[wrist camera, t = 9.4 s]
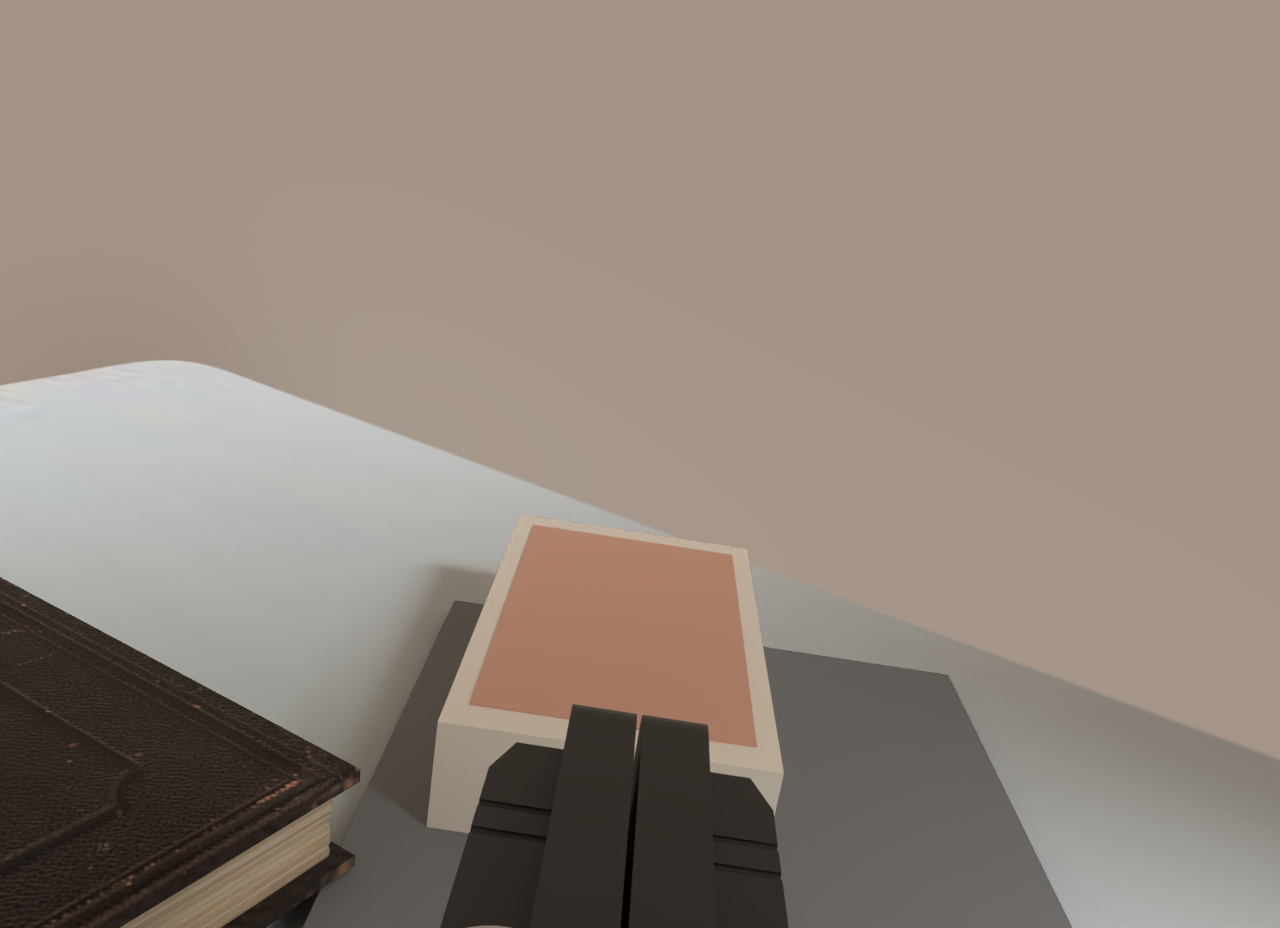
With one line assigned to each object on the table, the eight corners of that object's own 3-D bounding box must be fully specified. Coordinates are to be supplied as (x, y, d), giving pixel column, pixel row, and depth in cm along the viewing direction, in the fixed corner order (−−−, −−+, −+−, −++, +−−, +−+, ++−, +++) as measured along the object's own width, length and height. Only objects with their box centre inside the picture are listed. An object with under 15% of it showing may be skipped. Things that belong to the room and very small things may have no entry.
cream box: (761, 876, 22) (732, 622, 34) (784, 771, 22) (747, 547, 33) (426, 826, 22) (511, 588, 34) (437, 719, 22) (520, 512, 33)
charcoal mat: (944, 689, 33) (948, 674, 33) (1151, 1127, 19) (1159, 1105, 18) (453, 615, 33) (454, 600, 32) (278, 1000, 18) (279, 976, 18)
